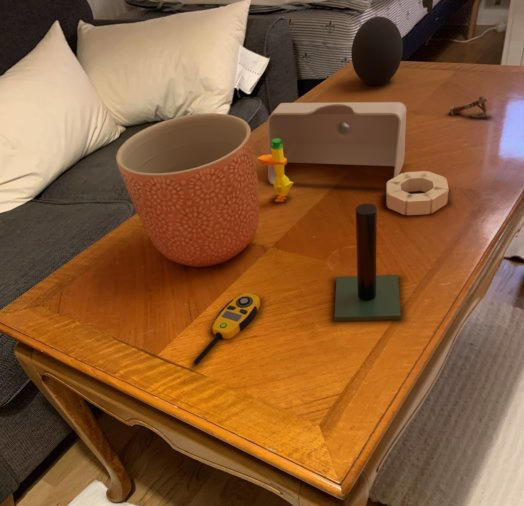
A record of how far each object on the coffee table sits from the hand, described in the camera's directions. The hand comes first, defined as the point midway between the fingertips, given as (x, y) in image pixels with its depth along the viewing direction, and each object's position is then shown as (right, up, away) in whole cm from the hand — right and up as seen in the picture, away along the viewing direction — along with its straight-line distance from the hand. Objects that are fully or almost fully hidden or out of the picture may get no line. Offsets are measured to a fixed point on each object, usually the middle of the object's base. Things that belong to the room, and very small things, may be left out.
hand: (462, 7), depth 70 cm
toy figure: (-24, -18, +29) cm, 42 cm away
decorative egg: (+2, +22, +63) cm, 66 cm away
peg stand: (-12, -39, +5) cm, 41 cm away
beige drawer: (-11, -10, +34) cm, 38 cm away
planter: (-36, -28, +21) cm, 51 cm away
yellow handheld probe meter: (-32, -44, +5) cm, 55 cm away
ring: (0, -20, +22) cm, 30 cm away
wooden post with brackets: (+18, +4, +42) cm, 46 cm away
